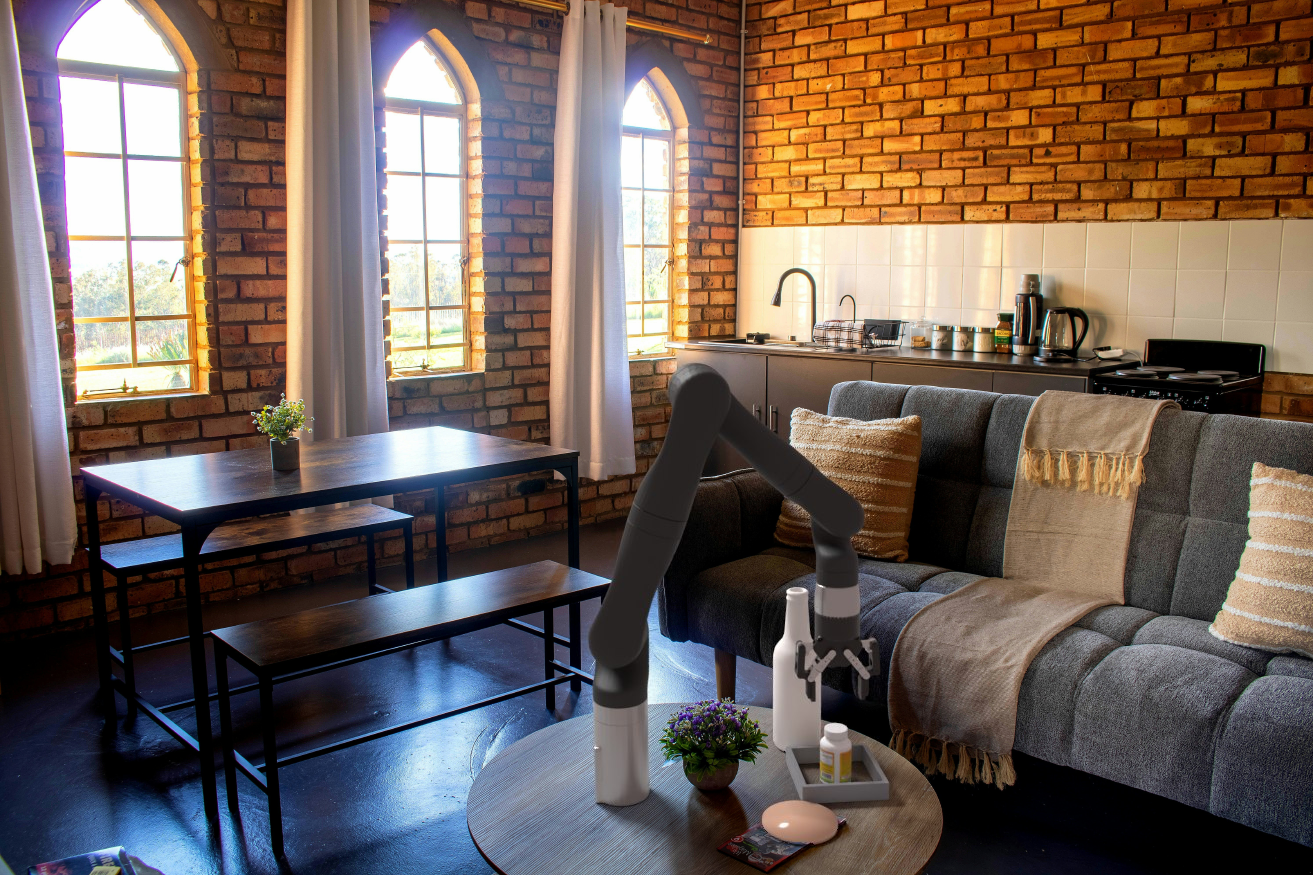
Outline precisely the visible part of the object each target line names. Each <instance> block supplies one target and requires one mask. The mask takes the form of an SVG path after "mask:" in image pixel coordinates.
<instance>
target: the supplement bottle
mask: <svg viewBox="0 0 1313 875" xmlns="http://www.w3.org/2000/svg"><path fill="white" fill-rule="evenodd" d="M848 731H849V730H848V727H847V725H845V724H843V723H837V722H831V723H827V724H826V725H824V729H823V735H824V736H823V737H821V739H820V744H819V745H820V763H819V780H820V782H821V783H822V784H826V783H847V782H851V781H852V761H851V756H852V745H851V744H852V741H851V740H850V739H849V738H848V735H849V732H848Z"/></svg>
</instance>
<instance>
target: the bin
mask: <svg viewBox="0 0 1313 875" xmlns="http://www.w3.org/2000/svg"><path fill="white" fill-rule="evenodd" d="M851 745H852V756H851V762H863V764H864V766H865V768H866V770H867V772H868V773H869V775H870V776H871V777H870V778H872V780H873V781H871V780H870V781H853V782H847V783H826V784H824V783H810V784H807V783H806V780H805V778H804V776H803V773H802V771H801V769H800V766H799V765H801V764H820V744H819V745H810V746H788V747H786V752H785V764H786V765H787V768H788V771H789V773H790V776H791V778H792V781H793V783H794V786H795V789H796V791H797V794H798V796H799V799H800V801H808V802H813V803H817V804H826V803H827V804H828V803H829V804H830V803H847V802H865V801H866V802H868V801H872V802H873V801H888V800H890V782H889V780H888V778H887V777H886V775H885V773H884V772H883V770H882V768H881V766H880V764H879V762H878V761H877V760H876V758H875V755H874V754H873V752H872V751H871V749H870V747H869V746H868V744H867V743H866V742H859V743H856V742H855V743H851Z"/></svg>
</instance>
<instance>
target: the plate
mask: <svg viewBox="0 0 1313 875" xmlns="http://www.w3.org/2000/svg"><path fill="white" fill-rule="evenodd" d="M761 825H763V826H762V828H763V827H764V828H763V830H764V829H765V830H766V831H767V832H768V833H770V834H771V835H772V836H775V837H777V838H779V839H781V840H785V841H790V842H791V841H792V842H802V843H805V842H811V843H813V844H814V845H818V844H822V843H824V842H827V841H829V840H831V839H832V838H834V836H836V835H837V832H838V830H839V829H838V828H839V821H838V818H837V815H836V814H835V813H834V811H832V810H831V809H829V808H828V807H826V806H824V805H821V804H820V803H813V802H808V801H801V800H794V799H792V800H785V801H780V802H776V803H775V804H772V805H770V806H768V807H767V808H766V809H765V810H764V811H763V813H762V816H761ZM837 829H838V830H837ZM765 830H764V831H765ZM766 831H765V832H766ZM767 832H766V833H767ZM768 833H767V834H768Z"/></svg>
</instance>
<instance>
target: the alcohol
mask: <svg viewBox="0 0 1313 875" xmlns="http://www.w3.org/2000/svg"><path fill="white" fill-rule="evenodd" d="M786 594H787V595H786V596H785V597H786V611H785V624H784V634H783V636H782V638H781V639H780V640H779V641H778V642H777V643H776V645H775V647H774V651H773V655H772V657H773V658H772V666H773V667H772V668H773V669H772V678H773V679H772V686H773V687H772V693H773V694H772V740H773V743H774V745H775V746H776V748H777V749H778V750H780V751H782V752H784V751H785V753H786V747H788V746H810V745H820V741H821V739H822V736H821V729H822V728H821V727H822V726H821V725H822V724H821V721H822V720H821V719H822V716H821V715H822V714H821V713H822V710H821V709H822V672H821V673H819V675H818V676H817V677H816V679H815V682H816V702H811V701H810V699H808V697H807V695H806V693H805V690H806V689H805V688H806V687H805V679H799V678H798V677H797V675H796V673H795V671H794V669H795V652H796V642H797V641H798V640H801V641H802V642H803V643H812V642H813V641H814V639H813V638H812V635H811V630H810V615H809V602H808V601H809V598H810V597H809V590H808V589H807V588H804V587H800V586H798V587H797V586H795V587H790V588H788V589H786ZM816 655H817V654H816V653H815V652H814V650H811V651H810V652H809V655H808V656H805V670H807V669H808V667H809V666H810V665H811V662H812V660H813V659H814V658H815V656H816Z"/></svg>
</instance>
